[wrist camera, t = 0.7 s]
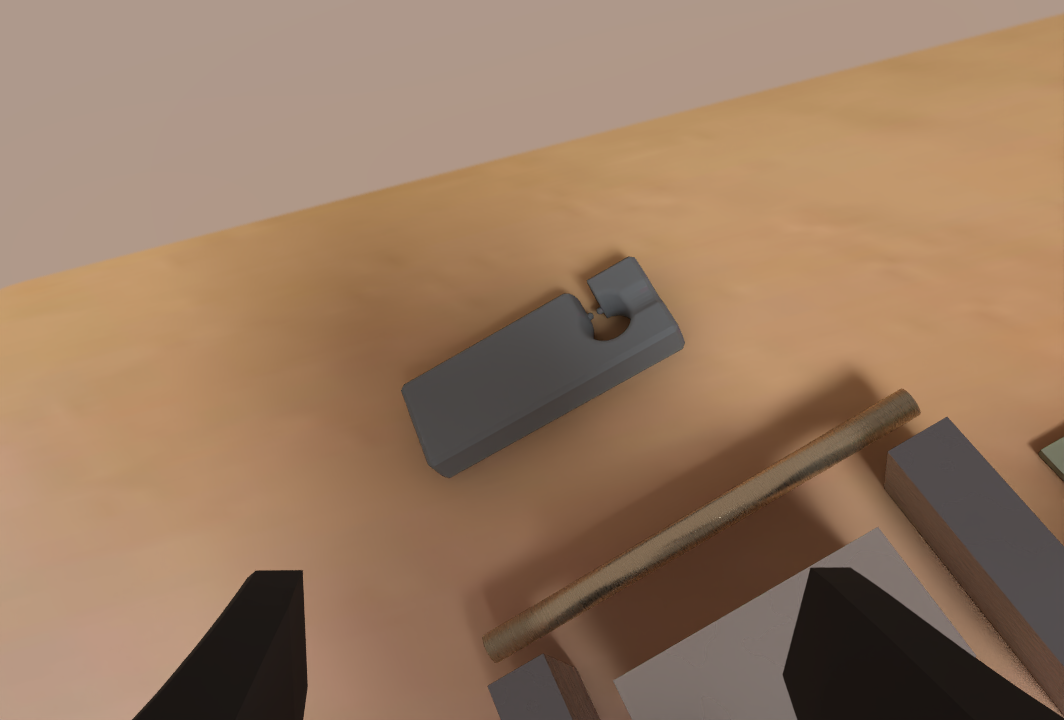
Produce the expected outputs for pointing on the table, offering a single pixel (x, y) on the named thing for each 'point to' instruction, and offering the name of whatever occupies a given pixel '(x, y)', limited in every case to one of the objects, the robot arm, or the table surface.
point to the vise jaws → (920, 492)
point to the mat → (1054, 456)
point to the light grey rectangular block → (761, 646)
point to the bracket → (538, 370)
